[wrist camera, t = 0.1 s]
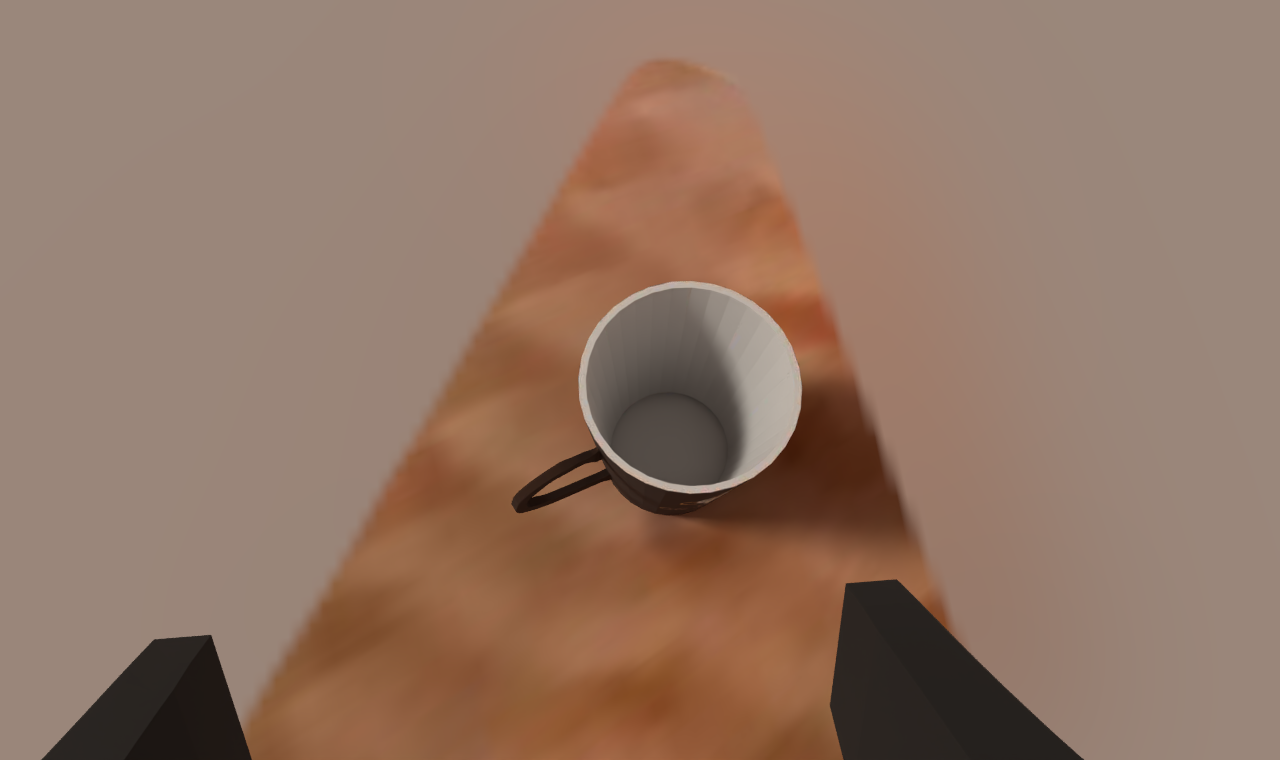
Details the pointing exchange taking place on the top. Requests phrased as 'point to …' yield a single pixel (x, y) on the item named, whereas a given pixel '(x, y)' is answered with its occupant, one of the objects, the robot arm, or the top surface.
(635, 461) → the black cup
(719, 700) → the top surface
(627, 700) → the top surface
